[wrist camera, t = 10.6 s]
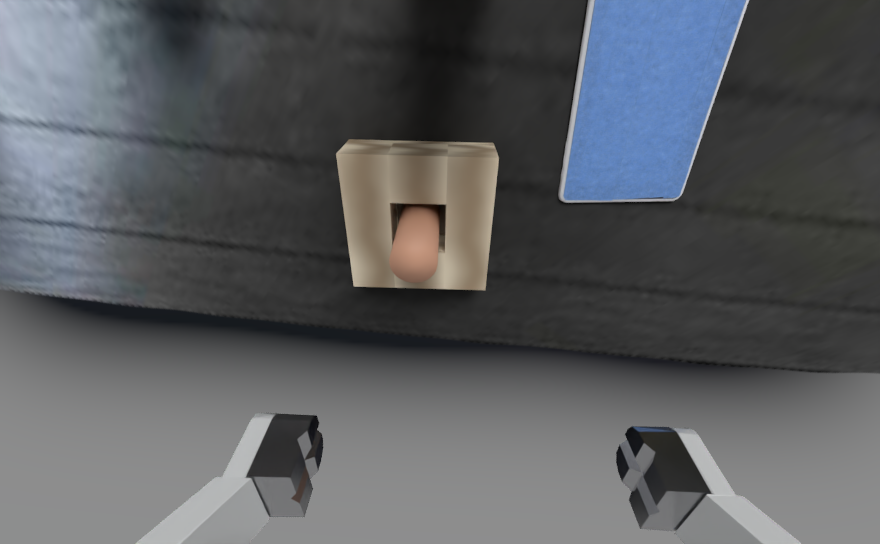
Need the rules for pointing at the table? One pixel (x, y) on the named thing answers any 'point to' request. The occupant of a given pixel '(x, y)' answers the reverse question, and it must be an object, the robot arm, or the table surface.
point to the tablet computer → (644, 96)
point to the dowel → (416, 243)
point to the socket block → (418, 182)
